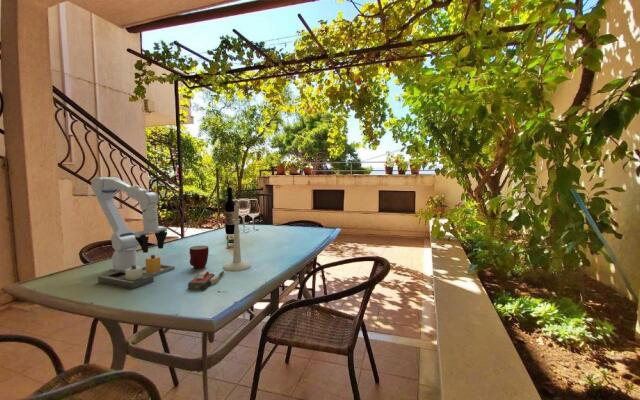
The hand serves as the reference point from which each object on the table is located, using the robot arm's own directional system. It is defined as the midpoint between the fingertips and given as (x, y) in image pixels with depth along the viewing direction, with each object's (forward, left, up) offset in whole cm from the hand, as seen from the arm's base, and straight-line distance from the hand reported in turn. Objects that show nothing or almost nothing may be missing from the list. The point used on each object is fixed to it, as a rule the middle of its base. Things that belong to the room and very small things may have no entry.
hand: (153, 250), depth 132 cm
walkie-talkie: (+30, 0, -11) cm, 31 cm away
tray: (0, 0, -10) cm, 10 cm away
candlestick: (+29, +21, -10) cm, 37 cm away
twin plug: (+6, -14, -10) cm, 18 cm away
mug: (+15, +11, -10) cm, 21 cm away
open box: (+2, -14, -10) cm, 17 cm away
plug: (0, 0, -9) cm, 9 cm away
